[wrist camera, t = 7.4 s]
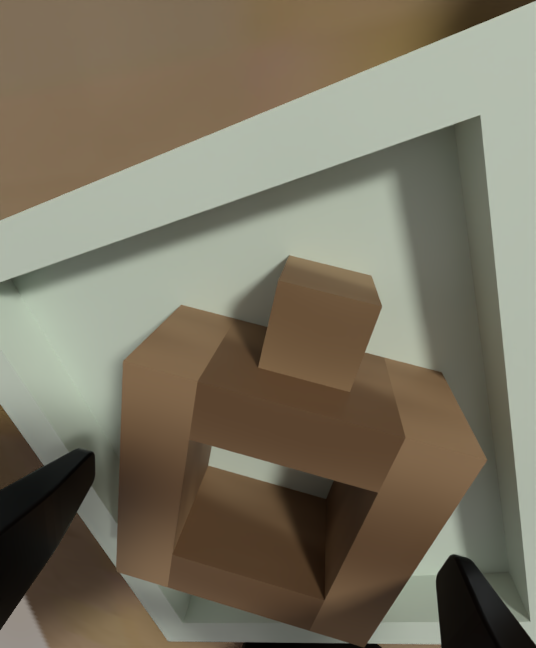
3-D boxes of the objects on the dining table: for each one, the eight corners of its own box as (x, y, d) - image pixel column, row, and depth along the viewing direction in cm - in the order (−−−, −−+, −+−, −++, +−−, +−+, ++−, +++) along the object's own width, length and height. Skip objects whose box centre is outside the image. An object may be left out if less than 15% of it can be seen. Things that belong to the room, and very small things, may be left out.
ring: (357, 540, 12) (364, 647, 10) (161, 483, 13) (116, 571, 10) (477, 301, 8) (546, 369, 6) (189, 230, 9) (126, 262, 6)
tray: (543, 575, 12) (579, 645, 11) (186, 587, 16) (168, 641, 14) (503, 33, 7) (564, -12, 5) (-27, 244, 11) (-101, 261, 9)
